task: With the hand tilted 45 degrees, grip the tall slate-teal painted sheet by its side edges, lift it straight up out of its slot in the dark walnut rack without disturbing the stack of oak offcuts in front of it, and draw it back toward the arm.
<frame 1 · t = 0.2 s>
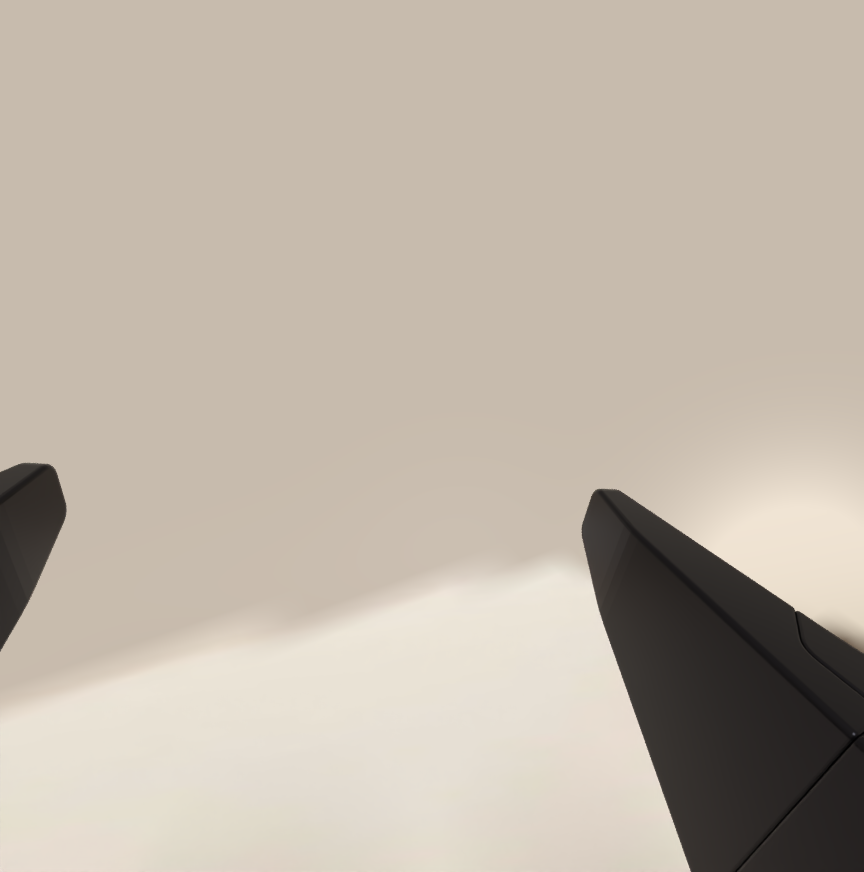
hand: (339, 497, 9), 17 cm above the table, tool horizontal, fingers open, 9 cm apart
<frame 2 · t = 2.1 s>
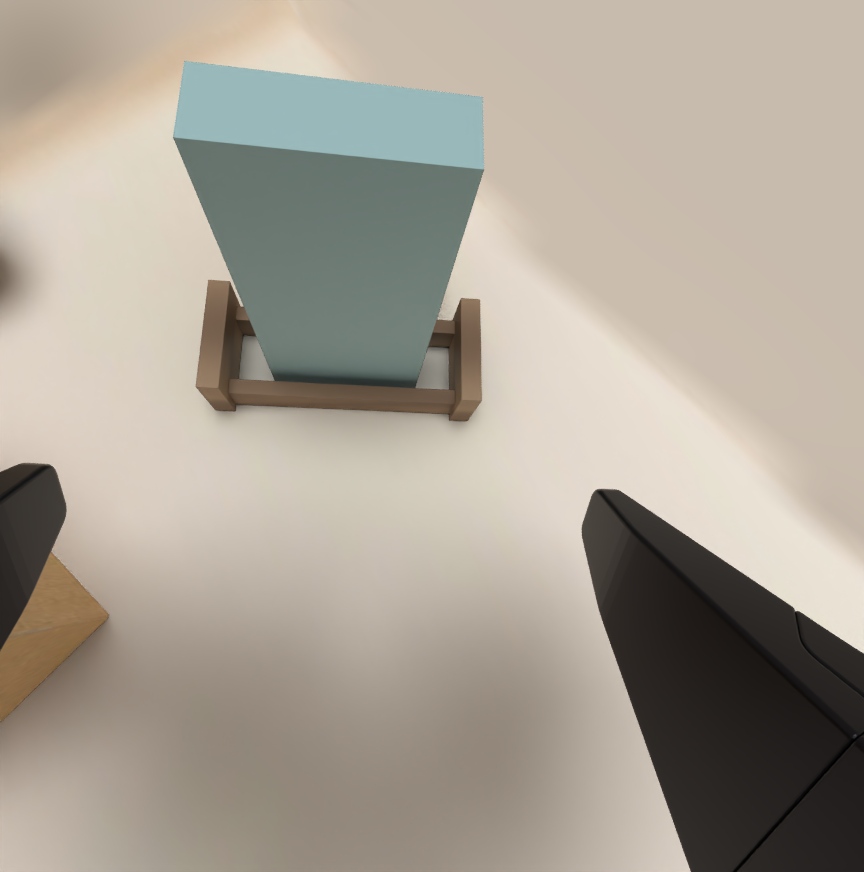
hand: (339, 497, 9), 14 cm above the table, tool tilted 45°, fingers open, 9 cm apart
tall sheet: (347, 368, 24), resting in rack
rack: (347, 368, 24), on the table
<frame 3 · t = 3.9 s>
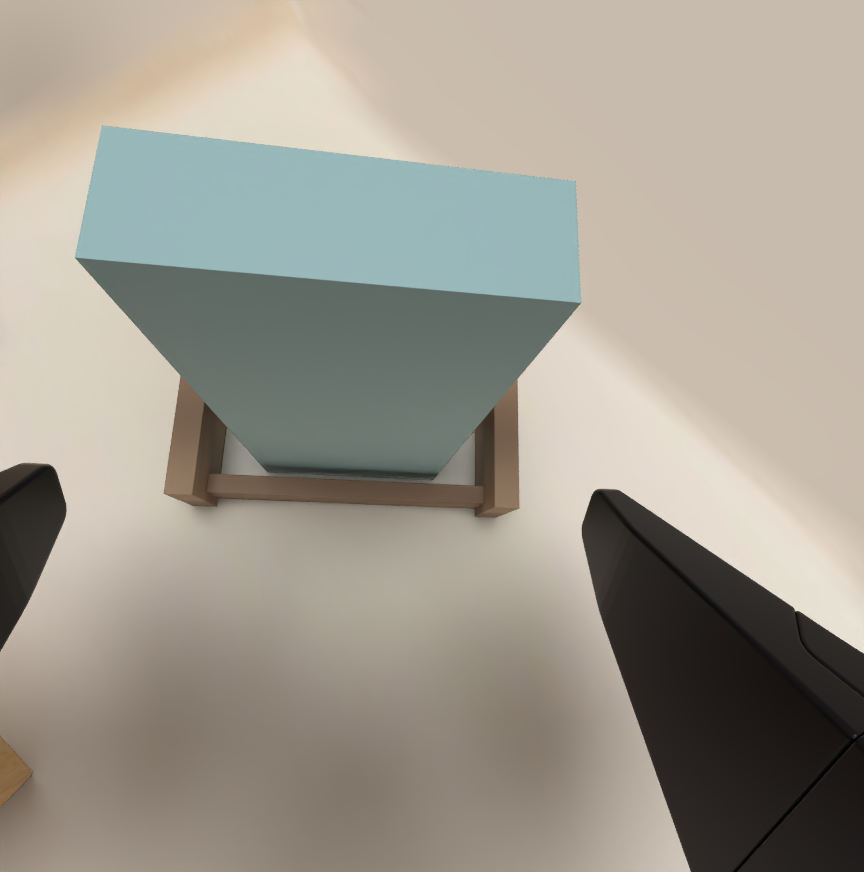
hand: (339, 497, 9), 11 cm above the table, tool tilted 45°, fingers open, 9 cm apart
tall sheet: (353, 452, 20), resting in rack
rack: (353, 451, 20), on the table
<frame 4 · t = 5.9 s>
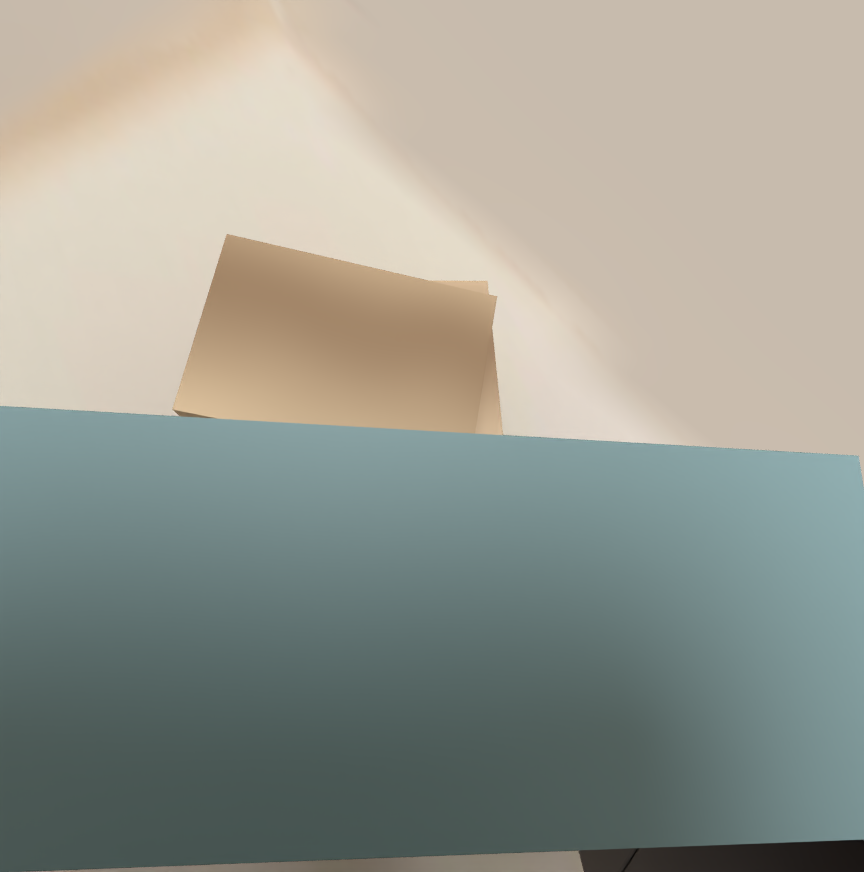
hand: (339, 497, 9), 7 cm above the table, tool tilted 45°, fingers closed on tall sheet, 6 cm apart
tall sheet: (343, 575, 16), resting in rack, touching gripper
offcut stack: (358, 415, 17), on the table
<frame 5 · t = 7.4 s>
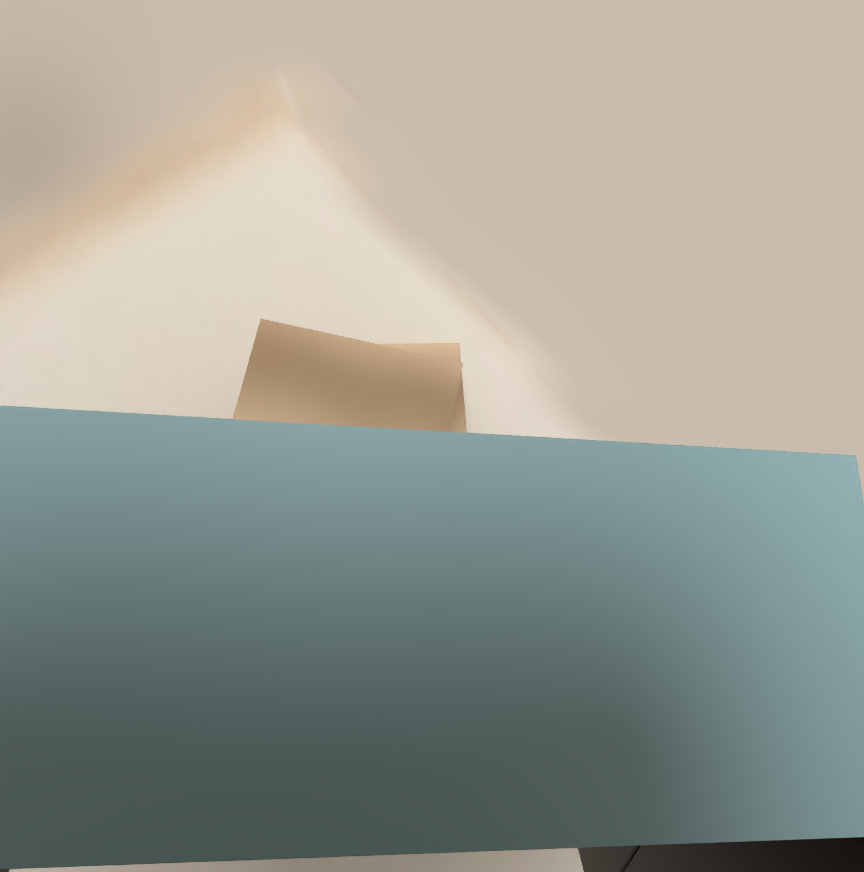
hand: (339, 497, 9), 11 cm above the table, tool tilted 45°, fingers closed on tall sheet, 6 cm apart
tall sheet: (343, 575, 16), point 4 cm above the table, touching gripper
offcut stack: (359, 443, 21), on the table
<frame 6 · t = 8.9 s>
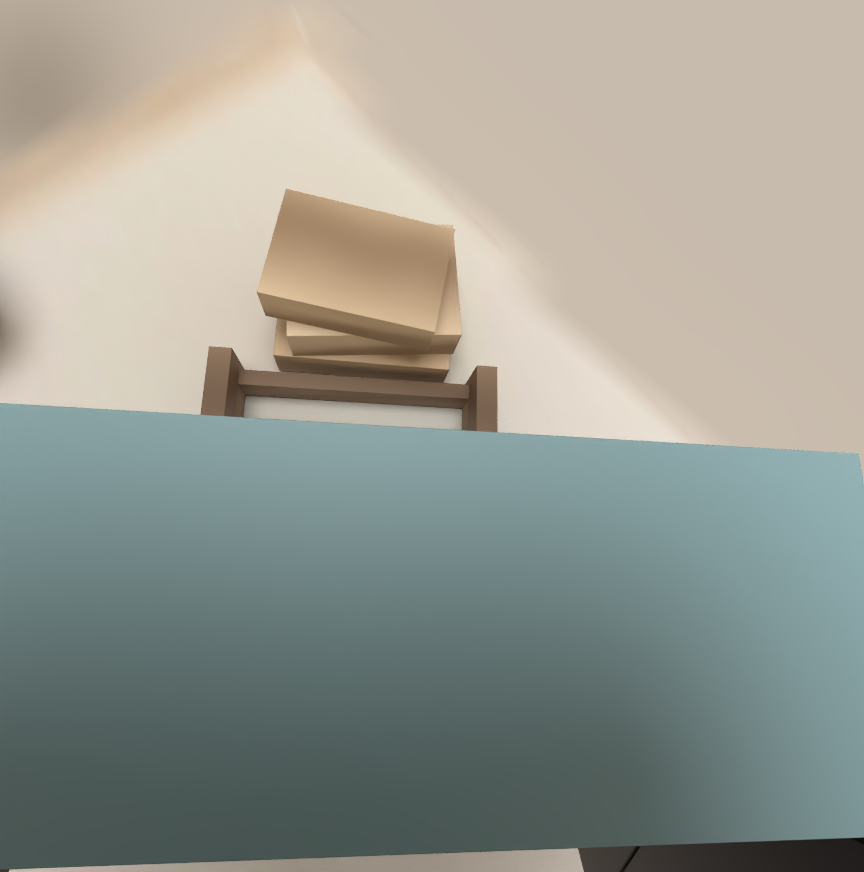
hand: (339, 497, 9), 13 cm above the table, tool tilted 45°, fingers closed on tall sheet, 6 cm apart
tall sheet: (343, 575, 16), point 6 cm above the table, touching gripper
rack: (354, 431, 23), on the table
offcut stack: (366, 325, 24), on the table
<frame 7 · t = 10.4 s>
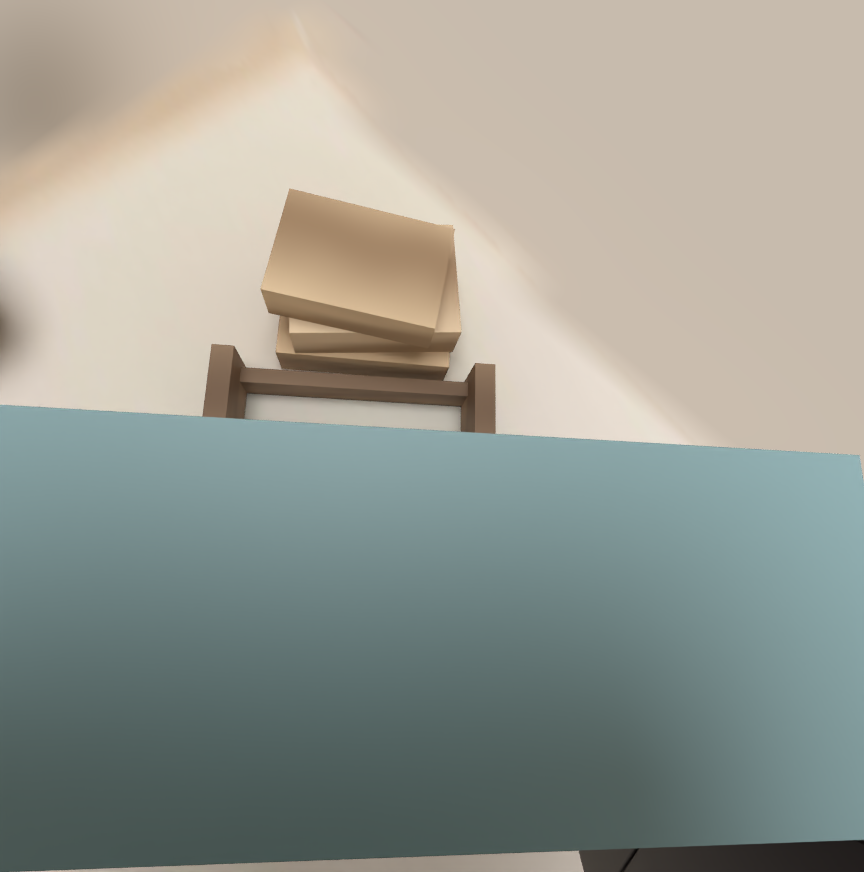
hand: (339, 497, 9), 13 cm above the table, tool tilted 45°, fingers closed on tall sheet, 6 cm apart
tall sheet: (343, 575, 16), point 6 cm above the table, touching gripper
rack: (354, 428, 23), on the table
offcut stack: (367, 323, 25), on the table
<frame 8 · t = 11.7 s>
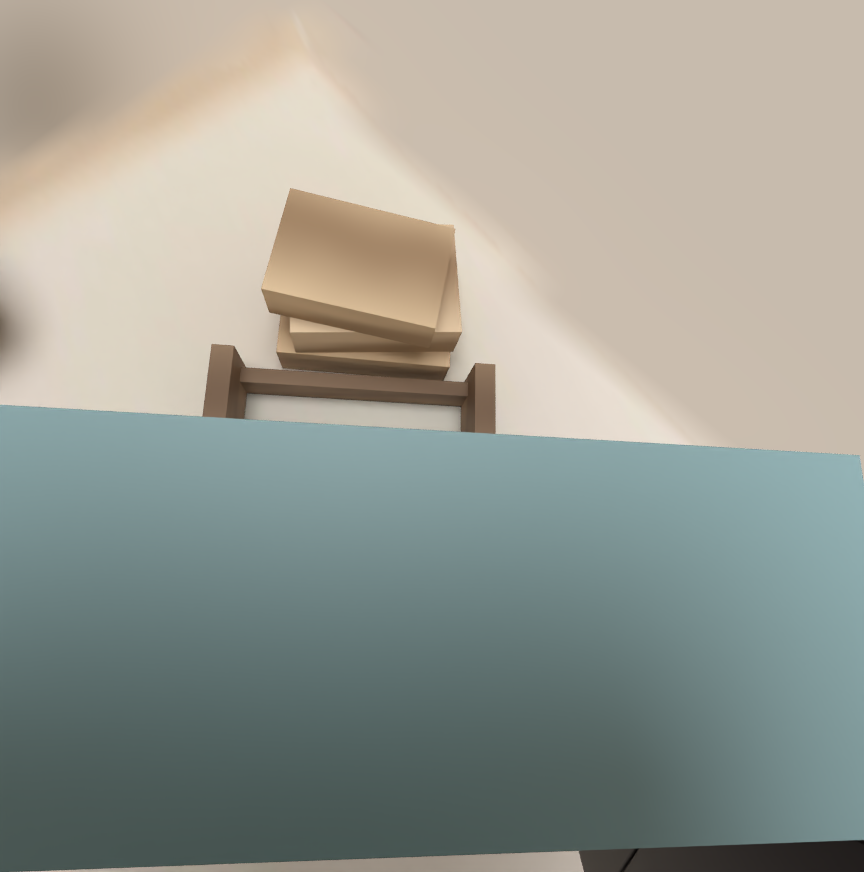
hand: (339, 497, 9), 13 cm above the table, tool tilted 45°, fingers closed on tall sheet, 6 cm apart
tall sheet: (343, 575, 16), point 6 cm above the table, touching gripper
rack: (354, 428, 23), on the table
offcut stack: (367, 323, 25), on the table
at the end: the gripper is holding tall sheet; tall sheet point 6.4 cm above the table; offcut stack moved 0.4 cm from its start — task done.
